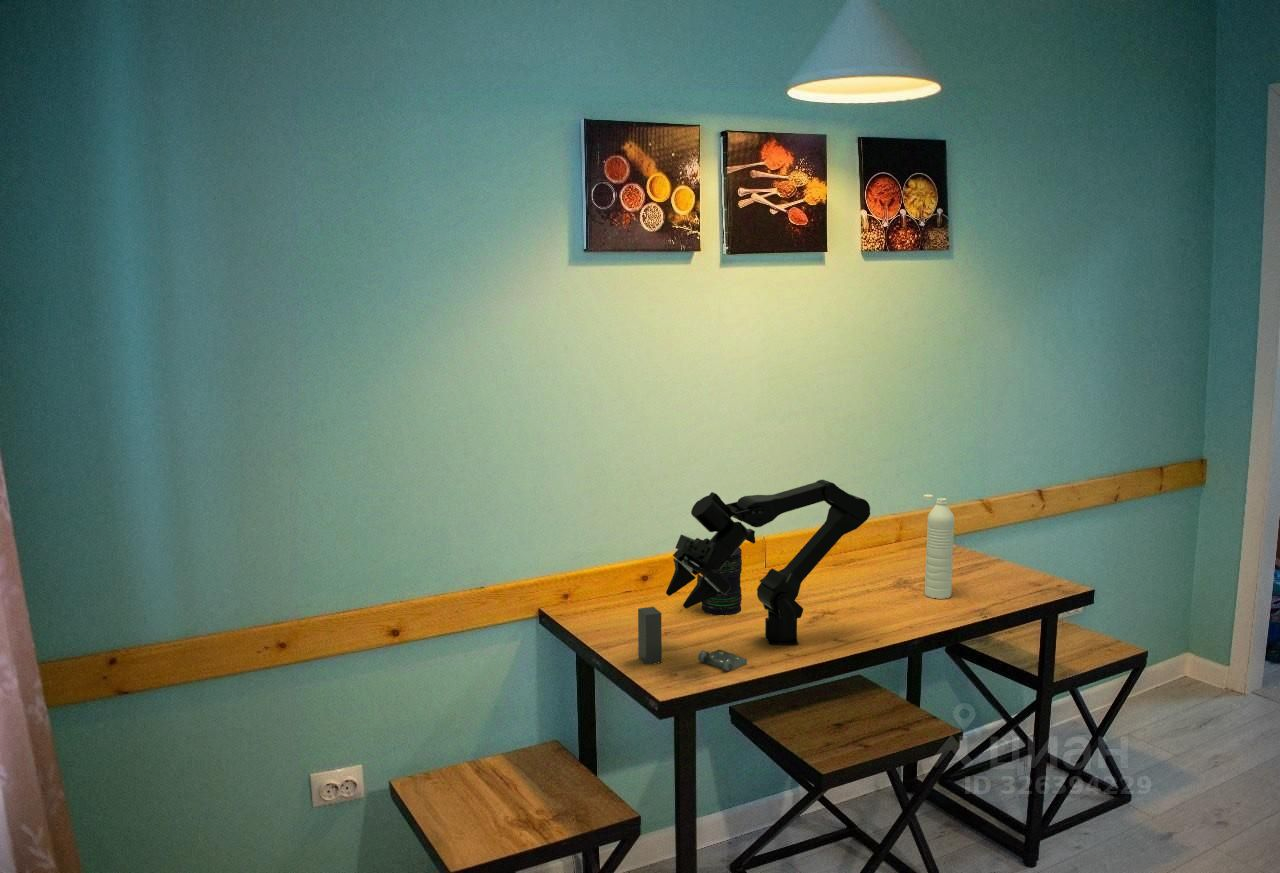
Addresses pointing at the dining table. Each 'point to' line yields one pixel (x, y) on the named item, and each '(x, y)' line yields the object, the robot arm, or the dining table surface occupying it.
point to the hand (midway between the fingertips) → (675, 600)
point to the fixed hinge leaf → (722, 659)
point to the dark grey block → (649, 635)
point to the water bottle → (939, 550)
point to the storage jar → (733, 597)
